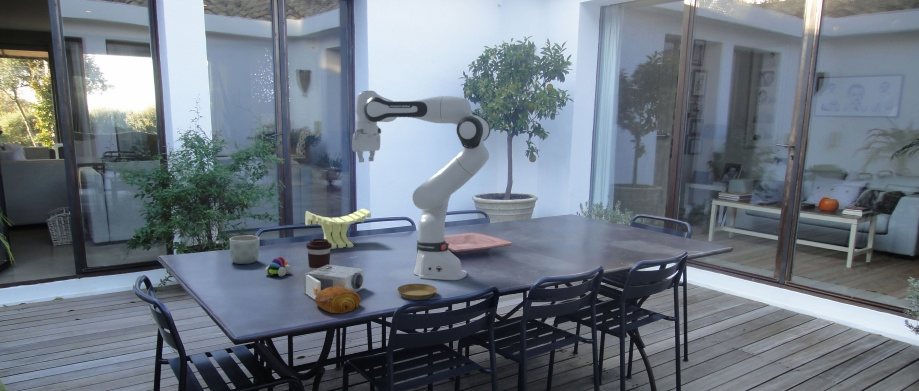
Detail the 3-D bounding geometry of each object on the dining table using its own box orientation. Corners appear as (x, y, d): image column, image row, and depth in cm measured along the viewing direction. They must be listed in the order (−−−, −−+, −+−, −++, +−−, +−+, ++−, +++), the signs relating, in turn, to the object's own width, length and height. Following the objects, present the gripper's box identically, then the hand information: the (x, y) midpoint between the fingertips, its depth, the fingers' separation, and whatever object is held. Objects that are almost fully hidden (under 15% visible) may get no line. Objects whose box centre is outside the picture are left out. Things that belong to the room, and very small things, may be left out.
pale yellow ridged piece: (361, 239, 301) (361, 207, 299) (370, 245, 287) (370, 211, 285) (305, 243, 287) (305, 209, 285) (312, 250, 273) (311, 214, 271)
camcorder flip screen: (321, 301, 193) (321, 281, 192) (315, 302, 191) (315, 282, 191) (307, 292, 203) (307, 273, 202) (302, 292, 202) (302, 273, 201)
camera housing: (366, 288, 210) (367, 268, 210) (347, 298, 197) (348, 277, 196) (327, 283, 216) (327, 263, 215) (306, 292, 203) (306, 272, 202)
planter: (223, 264, 241) (223, 239, 239) (241, 258, 253) (240, 234, 251) (248, 266, 238) (248, 241, 237) (265, 260, 250) (265, 236, 248)
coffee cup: (305, 273, 229) (305, 238, 227) (329, 272, 233) (329, 237, 231) (307, 279, 220) (307, 243, 218) (333, 278, 223) (333, 241, 222)
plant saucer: (445, 296, 205) (445, 289, 204) (416, 304, 194) (416, 297, 193) (417, 287, 214) (417, 281, 214) (388, 295, 203) (388, 288, 203)
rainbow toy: (294, 272, 230) (293, 255, 229) (280, 278, 221) (280, 261, 220) (276, 271, 232) (276, 254, 232) (262, 276, 223) (262, 259, 222)
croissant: (326, 323, 178) (327, 301, 176) (309, 304, 191) (309, 282, 189) (367, 314, 187) (368, 293, 185) (348, 296, 199) (349, 276, 197)
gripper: (362, 129, 225) (362, 163, 226) (382, 129, 244) (382, 160, 246) (348, 129, 227) (348, 162, 228) (369, 129, 246) (369, 160, 248)
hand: (366, 161), depth 237 cm, fingers open, 8 cm apart
